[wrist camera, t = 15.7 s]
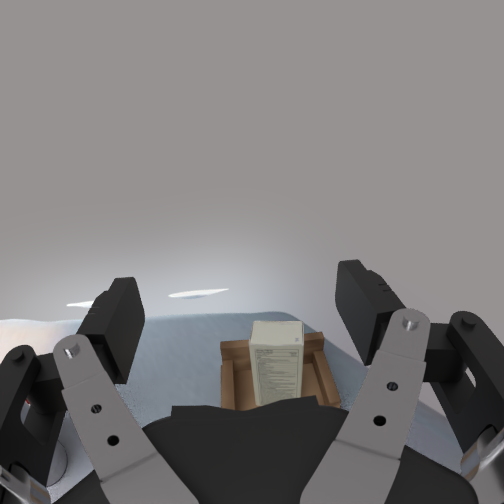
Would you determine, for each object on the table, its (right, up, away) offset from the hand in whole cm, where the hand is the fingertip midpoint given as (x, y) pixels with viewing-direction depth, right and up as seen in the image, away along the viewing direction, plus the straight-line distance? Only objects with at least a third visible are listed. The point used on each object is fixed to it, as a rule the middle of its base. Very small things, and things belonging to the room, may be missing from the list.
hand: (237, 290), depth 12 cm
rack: (+4, -19, +29) cm, 35 cm away
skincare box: (+4, -19, +28) cm, 34 cm away
